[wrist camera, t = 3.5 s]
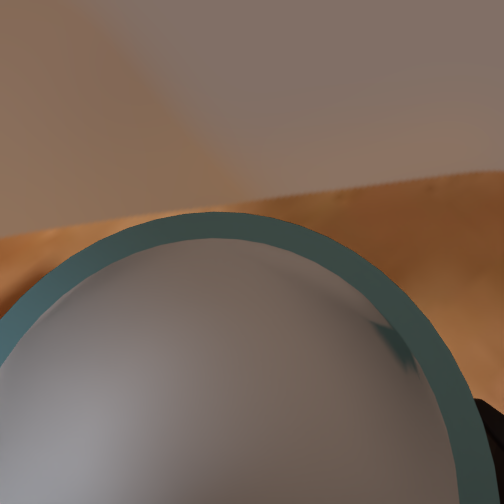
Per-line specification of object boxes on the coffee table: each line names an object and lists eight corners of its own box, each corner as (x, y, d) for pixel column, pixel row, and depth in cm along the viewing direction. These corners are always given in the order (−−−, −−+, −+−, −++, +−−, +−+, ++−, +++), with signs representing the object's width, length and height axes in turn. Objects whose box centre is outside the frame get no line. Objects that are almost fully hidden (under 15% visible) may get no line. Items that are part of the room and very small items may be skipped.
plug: (343, 435, 15) (620, 467, 3) (256, 538, 14) (165, 1220, 2) (256, 347, 16) (217, 138, 5) (170, 434, 15) (-185, 459, 3)
